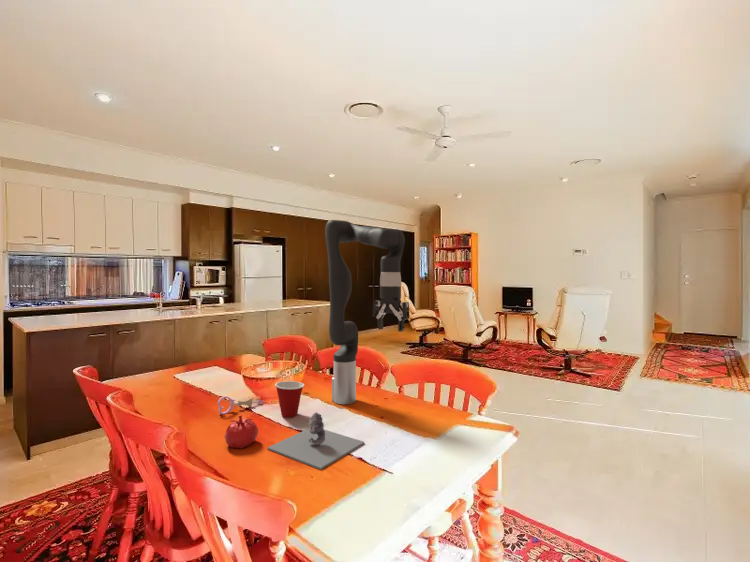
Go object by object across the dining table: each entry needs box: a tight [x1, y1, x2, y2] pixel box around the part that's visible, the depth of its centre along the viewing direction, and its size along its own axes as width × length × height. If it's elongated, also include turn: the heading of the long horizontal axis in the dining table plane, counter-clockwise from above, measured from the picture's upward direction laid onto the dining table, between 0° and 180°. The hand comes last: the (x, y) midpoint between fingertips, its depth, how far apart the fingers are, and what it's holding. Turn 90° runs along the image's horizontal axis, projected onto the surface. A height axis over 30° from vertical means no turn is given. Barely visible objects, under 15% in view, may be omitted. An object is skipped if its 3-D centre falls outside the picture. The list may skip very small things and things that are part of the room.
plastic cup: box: [274, 380, 305, 419], centre depth 150 cm, size 11×11×12 cm
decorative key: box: [217, 395, 266, 416], centre depth 157 cm, size 7×1×20 cm
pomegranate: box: [224, 414, 259, 449], centre depth 125 cm, size 10×10×9 cm
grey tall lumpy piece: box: [308, 412, 325, 445], centre depth 123 cm, size 5×5×10 cm
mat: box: [267, 427, 365, 471], centre depth 123 cm, size 22×20×1 cm
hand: (390, 330), depth 142 cm, fingers open, 8 cm apart
